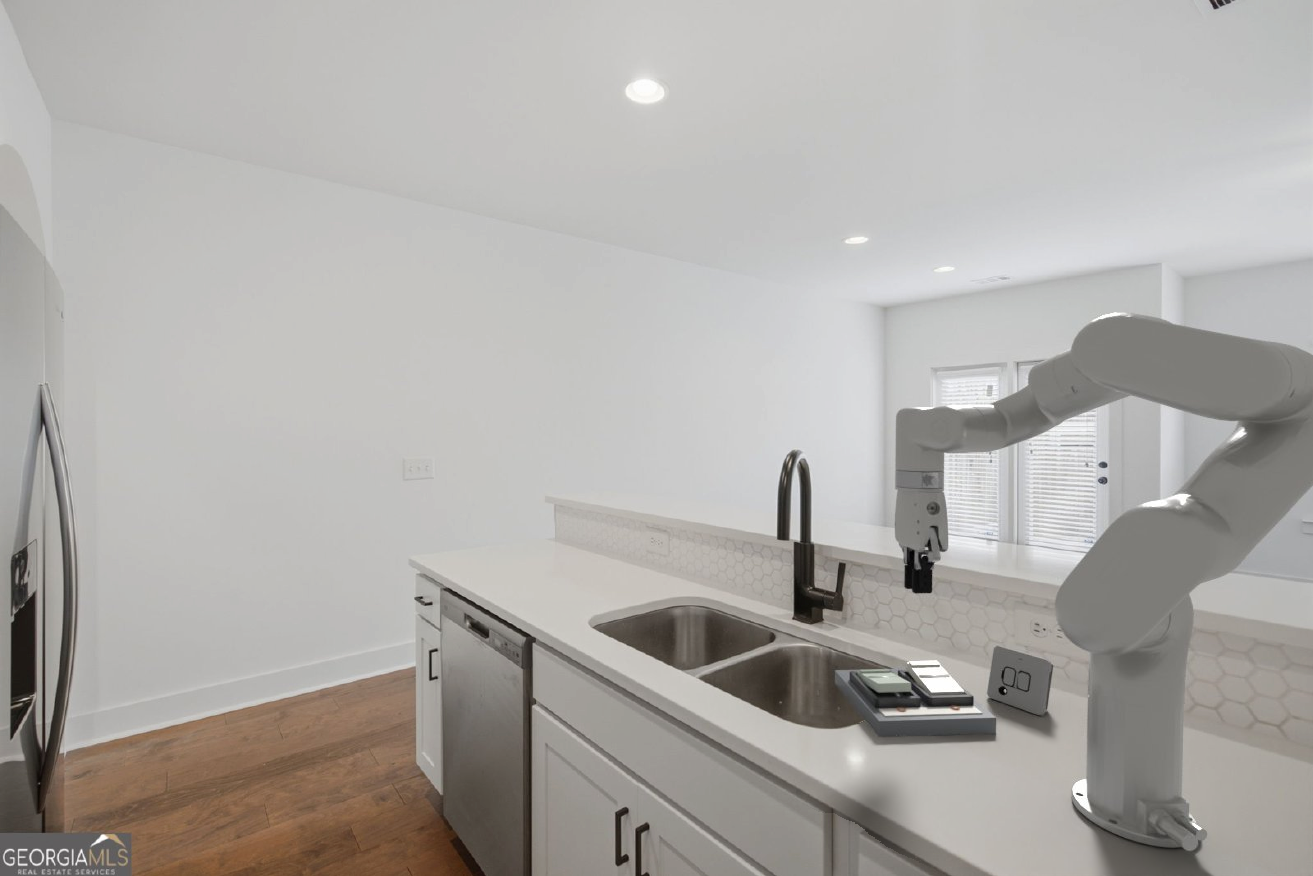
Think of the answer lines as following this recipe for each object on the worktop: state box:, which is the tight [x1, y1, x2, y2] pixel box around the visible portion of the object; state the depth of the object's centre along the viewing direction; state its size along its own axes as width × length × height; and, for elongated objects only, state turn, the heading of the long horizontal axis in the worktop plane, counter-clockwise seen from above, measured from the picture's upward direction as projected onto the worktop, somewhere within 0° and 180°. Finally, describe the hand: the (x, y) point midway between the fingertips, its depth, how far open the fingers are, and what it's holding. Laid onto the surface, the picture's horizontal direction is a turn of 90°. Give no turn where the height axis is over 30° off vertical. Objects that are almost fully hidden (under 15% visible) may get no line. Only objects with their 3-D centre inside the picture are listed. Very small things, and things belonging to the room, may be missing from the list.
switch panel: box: [834, 668, 997, 738], centre depth 108 cm, size 20×19×4 cm
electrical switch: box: [986, 645, 1054, 717], centre depth 110 cm, size 9×5×9 cm, turn 35°
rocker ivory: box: [906, 660, 964, 695], centre depth 109 cm, size 9×6×2 cm, turn 4°
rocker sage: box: [858, 668, 912, 692], centre depth 108 cm, size 9×6×2 cm, turn 4°
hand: (918, 589), depth 105 cm, fingers closed
